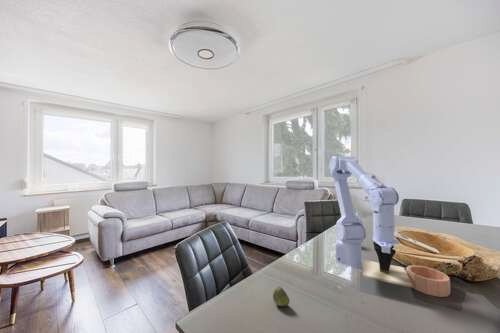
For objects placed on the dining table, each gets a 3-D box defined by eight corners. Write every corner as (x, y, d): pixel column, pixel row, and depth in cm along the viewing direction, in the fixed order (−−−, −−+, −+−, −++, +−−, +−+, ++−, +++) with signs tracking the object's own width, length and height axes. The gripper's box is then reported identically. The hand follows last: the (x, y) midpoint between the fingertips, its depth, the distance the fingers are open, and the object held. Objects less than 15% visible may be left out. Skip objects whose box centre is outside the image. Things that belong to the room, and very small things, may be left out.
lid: (362, 276, 62) (362, 261, 63) (362, 261, 73) (362, 248, 73) (411, 287, 57) (411, 270, 57) (404, 269, 67) (403, 255, 67)
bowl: (410, 292, 62) (410, 275, 62) (404, 277, 71) (403, 262, 71) (455, 302, 57) (455, 284, 57) (442, 285, 66) (442, 269, 66)
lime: (274, 298, 59) (274, 281, 59) (291, 302, 57) (291, 284, 58) (270, 308, 55) (270, 289, 55) (288, 312, 53) (288, 293, 53)
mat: (359, 292, 62) (359, 291, 62) (359, 272, 74) (359, 271, 74) (417, 307, 55) (417, 305, 55) (407, 282, 67) (407, 281, 67)
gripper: (403, 233, 57) (403, 282, 57) (395, 221, 70) (395, 261, 69) (373, 229, 60) (374, 275, 60) (371, 219, 73) (371, 257, 73)
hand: (384, 267), depth 65 cm, fingers closed on lid, 2 cm apart
